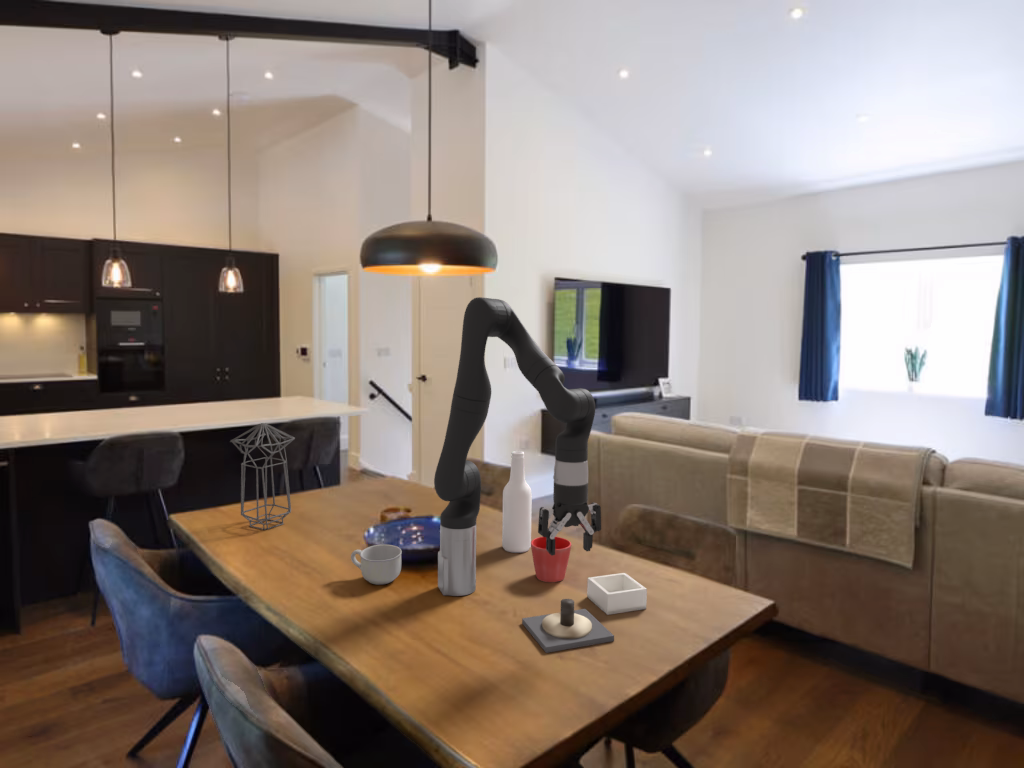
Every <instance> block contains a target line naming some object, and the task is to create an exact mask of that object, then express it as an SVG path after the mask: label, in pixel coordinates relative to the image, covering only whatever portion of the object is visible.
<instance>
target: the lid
mask: <svg viewBox="0 0 1024 768" xmlns="http://www.w3.org/2000/svg"><path fill="white" fill-rule="evenodd" d="M574 610H575V600H573V599H572V598H571V599H570V598H563V599H561V600H560V612H555V613H549V614H550V615H548V616H546V617H545V618H544V619H543V621H542V627H543V629H544V631H545V632H547V633H548V634H550V635H552V636H555V637H559V638H565V639H575V638H581V637H584V636H586V635H588V634H589V633H590V632H591V630H592V623H591V621H590V620H589V619H588V618H586V617H584V616H582V615H579V614H575V613H574Z"/></svg>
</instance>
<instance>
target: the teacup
mask: <svg viewBox="0 0 1024 768" xmlns="http://www.w3.org/2000/svg"><path fill="white" fill-rule="evenodd" d="M402 552H403V551H402V549H401V548H400V547H398V546H397V545H394V544H393V545H392V544H377V545H376V544H375V545H371V546H368V547H366V548H364V549H362V550H361V549H355V550H353V551H352V553H351V555H350V560H351V562H352V563H353V565H355V566H356V567H357V568H358V569H360V571H361V575H362V577H363V579H364V580H366V581H367V582H368V583H369V584H373V585H375V586H376V585H377V586H380V585H382V586H383V585H386V584H389V583H390V584H391V583H392V582H393V581H395V579H397V578H398V576H399V575H400V574H401V572H402V571H401V570H402V554H403V553H402ZM356 555H359V556H360V561H358V560H357V558H356Z"/></svg>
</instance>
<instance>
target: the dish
mask: <svg viewBox="0 0 1024 768" xmlns="http://www.w3.org/2000/svg"><path fill="white" fill-rule="evenodd" d="M647 589H648V588H646V587H645V586H644V585H642V584H641V583H640V582H638V581H637V580H635V579H634V578H633V577H632V576H630V575H629V574H628V573H626V572H621V573H620V572H619V573H613V574H612V573H611V574H605V575H598V576H597V575H596V576H591V577H587V590H586V591H587V593H586V595H587V596H586V597H587V598H588V599H589V600H590V601H591V602H592V603H593V604H595V606H596V607H598V608H599V609H600V610H601V611H602V612H604V613H605V614H606V615H607V616H608V615H610V616H611V615H615V614H616V615H617V614H622V613H629V612H633V611H634V612H635V611H641V610H646V609H647V600H648V599H647V596H648V593H647V592H648V590H647Z"/></svg>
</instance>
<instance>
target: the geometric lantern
mask: <svg viewBox="0 0 1024 768" xmlns="http://www.w3.org/2000/svg"><path fill="white" fill-rule="evenodd" d="M248 433H250V434H249V435H248V436H247V437H246V438H241V437H244V436H245V435H247V434H248ZM256 434H257V435H256ZM282 435H283V436H282ZM255 436H256V437H255ZM265 436H266V438H267V440H268V443H266V444H263V440H264V437H265ZM260 437H261V438H260ZM270 437H271V439H273V441H274V442H275V443H272V442H271V439H270ZM240 438H241V439H240ZM278 439H279V440H278ZM295 439H296V437H294V436H293V435H290V434H288V433H286V432H285V431H282V430H280V429H278V428H276V427H274V426H272V425H270V424H268V423H267V422H265V423H264V422H262V423H261V422H260V423H259V424H256V425H254V426H253V427H252V428H250V429H248V430H246V431H244V432H243V433H242V434H240V435H238V436H236V437H235V438H233V439H230V441H229V443H232V444H233V445H234V446H235V447H236V448H237V450H238V451H239V452H240V454H243V462H241V463H240V465H241V466H240V468H241V470H240V471H241V472H240V474H241V475H240V476H241V477H240V485H241V486H240V516H242V517H243V518H244V519H246V520H247V521H248V522H249V527H250V528H255V529H259V530H262V531H265V530H270V529H273V528H276V527H279V526H283V525H285V523H284V518H286V517H287V516H288V515H290V514H291V512H292V507H291V506H292V504H291V503H292V502H291V494H290V481H289V470H288V460H287V453H286V447H287V446H288V445H289V444H291V443H292V442H293V441H295ZM253 440H254V444H250V442H252V441H253ZM281 440H283V441H282V442H281ZM245 442H246V443H245ZM260 443H261V445H259V444H260ZM238 444H239V445H238ZM269 446H270V449H268V448H267V447H269ZM273 446H275V448H274V450H273ZM243 447H244V450H243V449H242V448H243ZM256 447H257V448H258V449H259V450H260V451H261V453H262V454H263V455H264V456H265V457H260V458H256V459H253V458H252V456H251V454H250V453H251V452H252V451H253V450H255V449H256ZM249 449H250V450H249ZM262 449H264V450H265V451H266V452H268V453H270V455H269V456H267V454H266V453H265V452H264V451H263V450H262ZM277 449H278V450H277ZM282 450H284V451H283V452H284V455H285V456H284V457H285V459H284V457H283V454H282ZM276 453H279V455H280V458H277V457H273V456H274V455H275V454H276ZM247 456H248V457H249V459H250V460H247V461H246V458H247ZM263 459H265V461H264V464H263V465H262V466H257V464H256V463H255V461H260V460H263ZM269 460H270V464H269V465H268V461H269ZM273 460H276V461H277V460H278V461H281V462H278V463H275V464H273ZM249 462H252V463H253V465H251V464H250V465H249V464H247V463H249ZM278 465H283V472H284V473H283V474H284V482H285V489H286V491H285V492H286V498H287V507H286V506H282V505H278V504H276V501H275V500H276V498H275V484H274V470H273V468H274V466H278ZM246 467H248V468H249V467H250V468H254V469H255V471H256V473H255V475H256V478H255V481H256V485H255V486H256V507H253V508H250V509H246V510H244V509H245V487H246V486H245V483H246ZM268 468H270V471H271V472H270V473H271V475H270V476H271V487H272V488H271V489H272V502H273V503H271V504H268V503H267V502H268V476H267V475H268ZM259 469H260V470H261V478H262V480H261V481H262V489H263V490H262V491H263V492H262V493H263V501H264V502H263V503H264V504H262V505H259ZM264 471H265V472H264ZM267 507H271V508H270V511H269V513H268V510H267V509H268V508H267ZM274 507H276V508H277V507H278V508H281V509H284V510H287V511H286V512H284V513H279V514H272V511H273V509H274ZM261 508H264V512H265V513H264V514H261V515H259V511H260V510H259V509H261ZM255 510H256V516H255V517H253V516H249V515H247V514H245V513H248V512H252V511H255ZM264 516H265V517H264ZM261 517H264V518H261ZM278 517H279V518H278ZM260 518H261V519H260ZM274 518H278V519H274ZM280 520H281V521H280ZM268 521H269V522H268ZM264 522H265V523H264ZM275 522H276V523H279V524H276V525H273V526H270V527H269V524H272V523H275ZM257 524H259V525H262V527H258V526H254V525H257ZM265 526H266V528H265Z"/></svg>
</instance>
